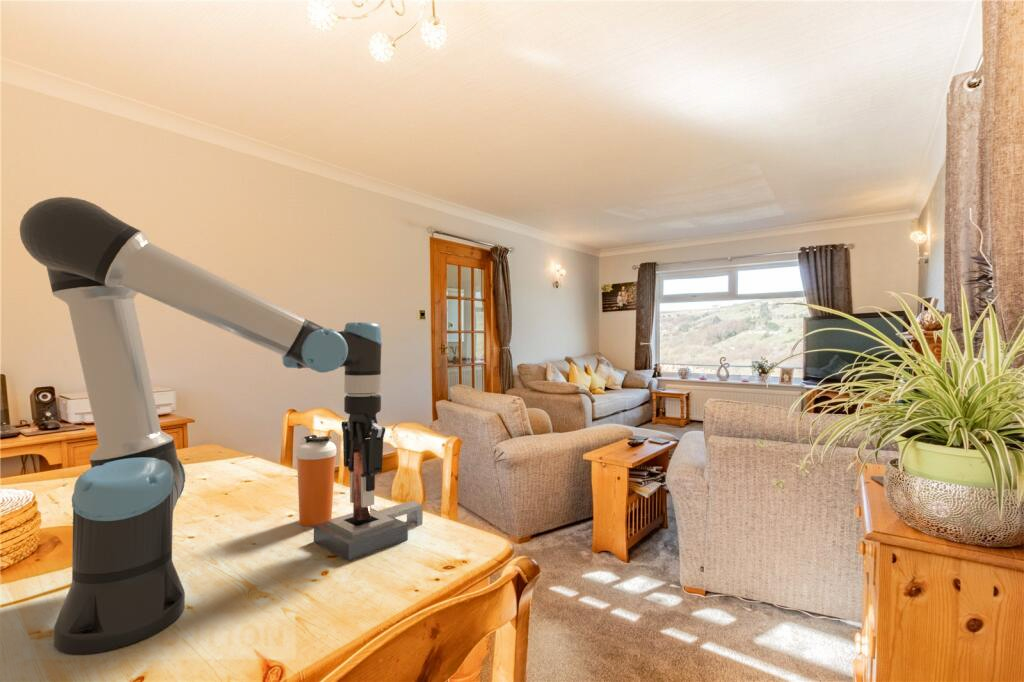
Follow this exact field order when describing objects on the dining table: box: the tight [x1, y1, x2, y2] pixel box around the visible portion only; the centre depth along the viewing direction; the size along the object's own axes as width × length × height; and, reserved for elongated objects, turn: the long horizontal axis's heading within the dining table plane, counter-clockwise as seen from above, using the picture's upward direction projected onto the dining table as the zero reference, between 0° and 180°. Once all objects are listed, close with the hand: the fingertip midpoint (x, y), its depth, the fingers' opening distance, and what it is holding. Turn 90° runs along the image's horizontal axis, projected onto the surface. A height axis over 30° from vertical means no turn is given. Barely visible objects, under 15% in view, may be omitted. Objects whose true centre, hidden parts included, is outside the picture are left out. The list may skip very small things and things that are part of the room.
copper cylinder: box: [352, 450, 372, 520], centre depth 102 cm, size 4×4×14 cm
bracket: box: [327, 500, 424, 538], centre depth 105 cm, size 20×10×4 cm, turn 139°
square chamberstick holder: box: [313, 507, 409, 563], centre depth 102 cm, size 14×14×4 cm
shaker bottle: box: [295, 434, 337, 527], centre depth 113 cm, size 9×9×20 cm
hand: (362, 503), depth 102 cm, fingers closed on copper cylinder, 4 cm apart
